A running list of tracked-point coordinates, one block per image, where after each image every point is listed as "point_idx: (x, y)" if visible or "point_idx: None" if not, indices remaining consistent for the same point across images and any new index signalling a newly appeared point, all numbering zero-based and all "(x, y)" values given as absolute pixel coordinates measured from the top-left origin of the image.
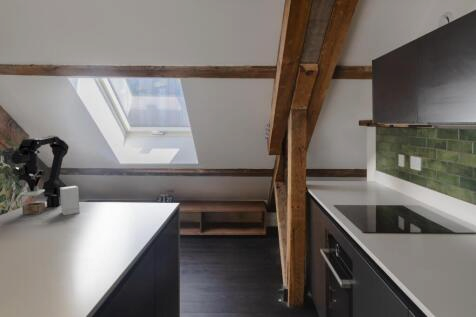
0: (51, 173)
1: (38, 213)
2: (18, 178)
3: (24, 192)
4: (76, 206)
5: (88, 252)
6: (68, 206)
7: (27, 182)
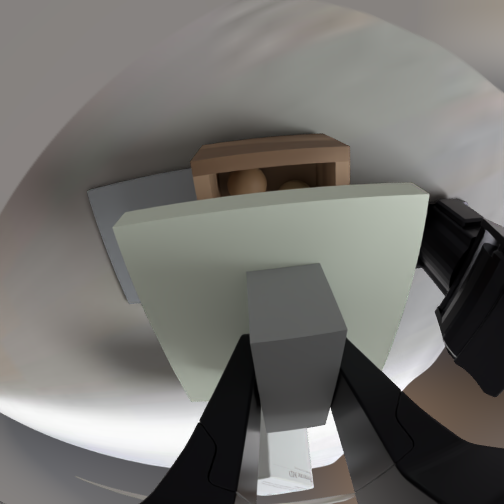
0: None
1: None
2: None
3: (161, 272)
4: None
5: (24, 409)
6: None
7: (161, 487)
